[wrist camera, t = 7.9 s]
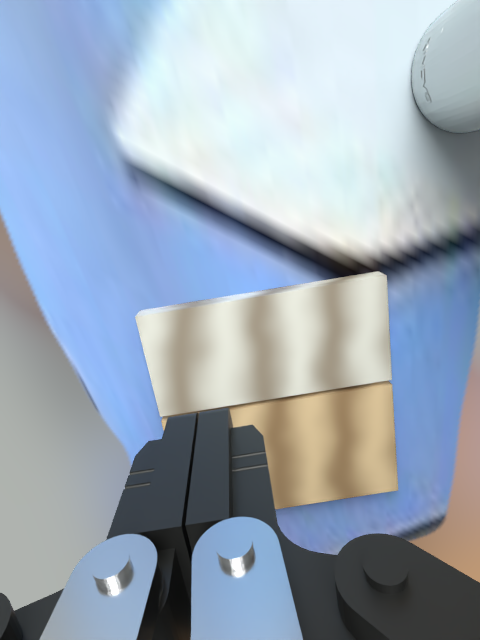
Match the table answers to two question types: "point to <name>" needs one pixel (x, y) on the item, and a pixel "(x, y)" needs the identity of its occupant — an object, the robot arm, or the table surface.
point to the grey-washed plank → (268, 343)
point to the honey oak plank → (325, 442)
